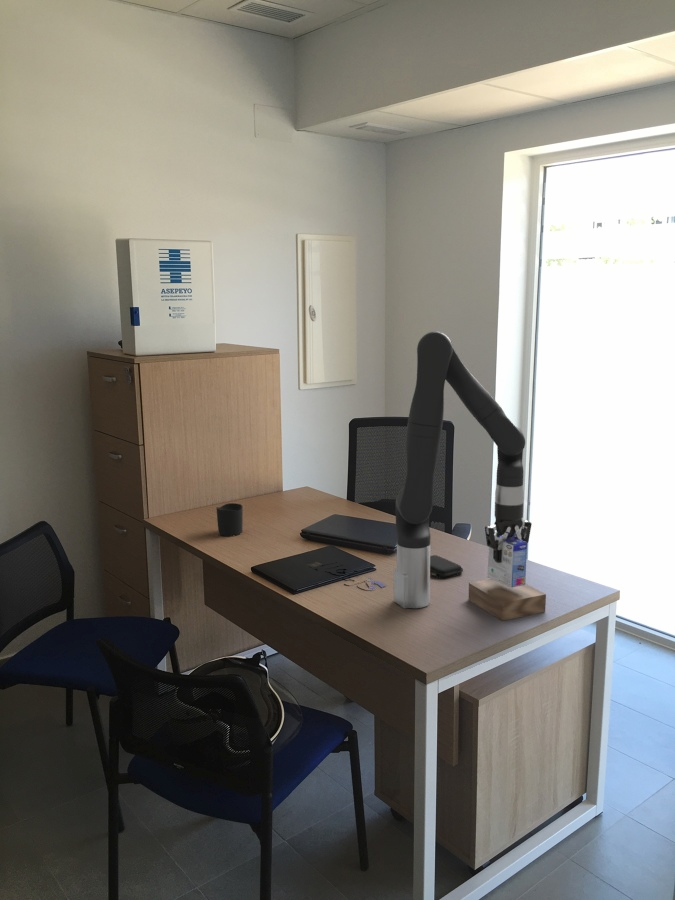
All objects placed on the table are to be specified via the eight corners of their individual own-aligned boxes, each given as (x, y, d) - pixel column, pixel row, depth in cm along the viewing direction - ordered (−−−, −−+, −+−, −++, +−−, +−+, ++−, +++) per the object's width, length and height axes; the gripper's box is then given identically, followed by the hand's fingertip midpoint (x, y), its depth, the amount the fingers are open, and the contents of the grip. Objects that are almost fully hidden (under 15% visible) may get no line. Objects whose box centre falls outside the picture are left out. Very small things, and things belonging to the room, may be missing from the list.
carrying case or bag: (409, 568, 245) (438, 582, 233) (409, 558, 245) (438, 572, 232) (435, 561, 251) (465, 575, 238) (435, 552, 250) (465, 565, 238)
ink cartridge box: (527, 584, 209) (528, 533, 207) (512, 589, 207) (513, 537, 204) (501, 574, 218) (502, 524, 215) (486, 578, 215) (487, 527, 212)
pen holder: (245, 535, 279) (244, 509, 277) (218, 538, 277) (217, 511, 275) (241, 528, 288) (240, 502, 286) (216, 530, 286) (215, 504, 284)
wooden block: (502, 620, 204) (502, 602, 203) (468, 599, 218) (468, 582, 217) (545, 611, 209) (545, 594, 208) (509, 591, 223) (510, 575, 223)
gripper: (495, 507, 202) (493, 568, 205) (539, 500, 207) (537, 560, 210) (478, 500, 208) (477, 560, 212) (522, 494, 214) (520, 552, 217)
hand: (507, 560), depth 211 cm, fingers closed on ink cartridge box, 5 cm apart
